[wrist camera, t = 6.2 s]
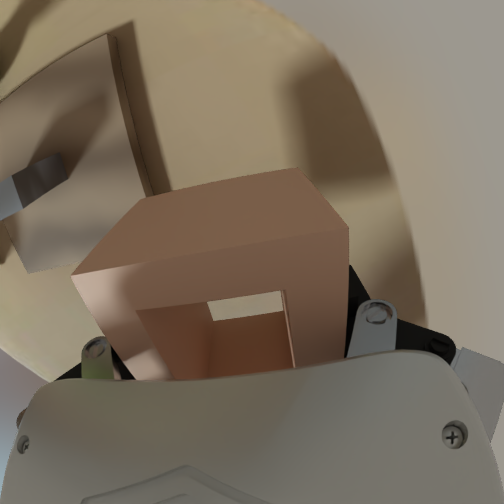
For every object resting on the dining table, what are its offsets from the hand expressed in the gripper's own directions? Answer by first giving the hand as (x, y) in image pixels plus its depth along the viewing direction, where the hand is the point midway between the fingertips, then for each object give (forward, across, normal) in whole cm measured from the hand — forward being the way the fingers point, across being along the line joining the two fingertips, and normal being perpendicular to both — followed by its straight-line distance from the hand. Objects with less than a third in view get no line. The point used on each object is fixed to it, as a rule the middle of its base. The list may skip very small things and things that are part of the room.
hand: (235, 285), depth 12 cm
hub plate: (+9, +14, -7) cm, 18 cm away
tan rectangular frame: (+1, 0, 0) cm, 1 cm away
